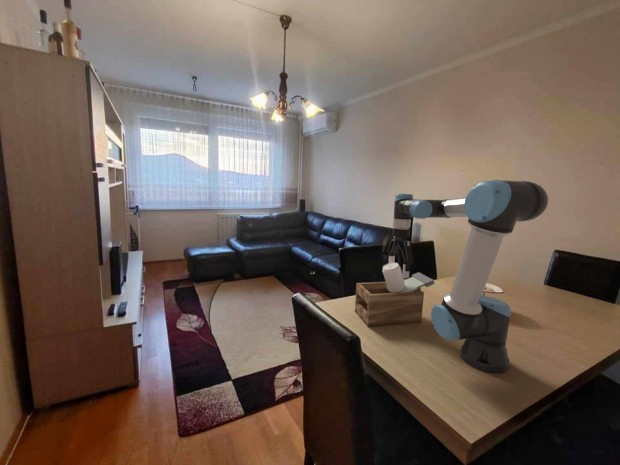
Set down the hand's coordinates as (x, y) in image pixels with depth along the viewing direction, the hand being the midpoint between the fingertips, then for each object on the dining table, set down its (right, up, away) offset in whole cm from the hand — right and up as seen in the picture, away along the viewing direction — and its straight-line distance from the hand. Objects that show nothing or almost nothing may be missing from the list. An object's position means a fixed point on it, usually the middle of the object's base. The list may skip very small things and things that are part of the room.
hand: (397, 273), depth 136 cm
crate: (-5, -21, +3) cm, 22 cm away
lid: (+6, -7, +2) cm, 10 cm away
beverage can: (0, -8, +1) cm, 8 cm away
